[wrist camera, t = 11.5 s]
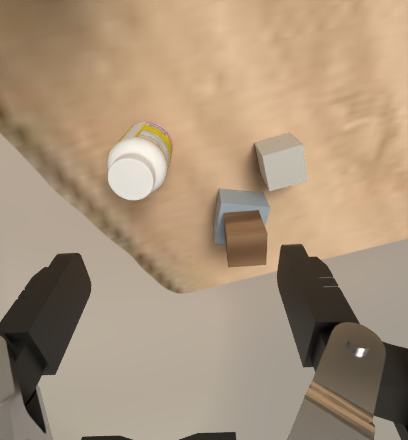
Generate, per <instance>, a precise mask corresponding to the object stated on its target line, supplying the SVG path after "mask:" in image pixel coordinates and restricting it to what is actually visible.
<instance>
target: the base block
mask: <svg viewBox="0 0 408 440" xmlns="http://www.w3.org/2000/svg"><path fill="white" fill-rule="evenodd" d="M253 210H259V212H260V215H261V218H262V220H263V223H264V226H265V225H266V221H267V217H268V214H269V210H270V206H269V204H268V202H267V200H266V197H265V195H264V193H259V192H249V191H240V190H230V189H220V188H219V193H218V200H217V206H216V212H215V219H214V225H213V229H214V243H217V244H225V229H224V213H227V212H240V211H253Z"/></svg>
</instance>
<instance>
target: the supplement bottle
mask: <svg viewBox="0 0 408 440" xmlns="http://www.w3.org/2000/svg"><path fill="white" fill-rule="evenodd" d="M171 154H172V141H171V138H170V136H169V134H168V133H167V131H166V130H165V129H164V128H163V127H161V126H160V125H158V124H156V123H153V122H140V123H137V124H135V125H134V126H132V127H131V128H130V129H129V130H128V131H127V132H126V134H125V135H124V136H123V137H122V138H121V139H120V140H119V142H118V143H117V144H116V145H115V146H114V147H113V148H112V150H111V151H110V153H109V156H108V161H107V167H108V182H109V185H110V187H111V188H112V190H113V191H114V192H115V193H116V194H117V195H119V196H120V197H122V198H124V199H127V200H140V199H143V198H145V197H146V196H147V195H148V194H149V193H151V192H153V191H155V190H156V189H158V188H159V187H160V186H161V185H162V183H163V181H164V180H165V177H166V173H167V169H168V166H169V162H170V158H171Z"/></svg>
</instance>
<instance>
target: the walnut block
mask: <svg viewBox="0 0 408 440" xmlns="http://www.w3.org/2000/svg"><path fill="white" fill-rule="evenodd" d="M224 229H225V244H226V252H227V260H228V267H240V266H255V265H266V255H267V231H266V228H265V226H264V223H263V220H262V218H261V215H260V212H259V210H253V211H240V212H227V213H224Z"/></svg>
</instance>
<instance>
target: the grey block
mask: <svg viewBox="0 0 408 440" xmlns="http://www.w3.org/2000/svg"><path fill="white" fill-rule="evenodd" d="M255 148H256V153H257V158H258V162H259V167H260V172H261V175H262V177H263V179H264V181H265V184H266V186H267V188H268V190H269V191H273V190H277V189H280V188H284V187H288V186H291V185H295V184H299V183H302V182H306V181H307V172H306V164H305V155H304V146H303V144H302V143H301V142H300V141H299V140H298V139H297V138H296V137H294V136H293V135H292V134H291V133H290V132H289V133H285V134H282V135H279V136H275V137H272V138H269V139H265V140H262V141H259V142H255Z"/></svg>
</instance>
